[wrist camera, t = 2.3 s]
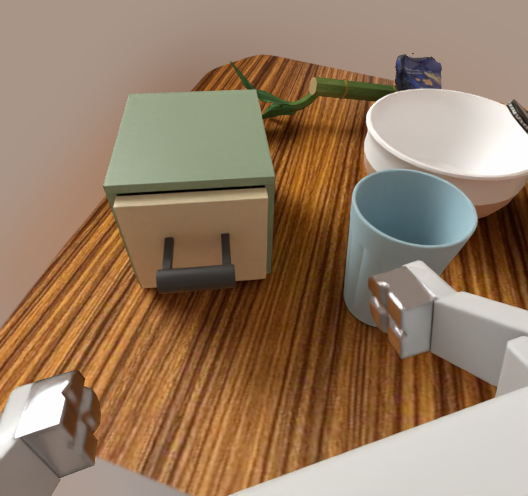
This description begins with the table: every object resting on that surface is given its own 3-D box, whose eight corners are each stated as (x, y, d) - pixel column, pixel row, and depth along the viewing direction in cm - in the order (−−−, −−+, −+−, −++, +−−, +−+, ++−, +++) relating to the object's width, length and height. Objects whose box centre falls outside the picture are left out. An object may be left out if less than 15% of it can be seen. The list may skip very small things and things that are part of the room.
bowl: (376, 139, 49) (392, 76, 43) (513, 176, 44) (551, 110, 38) (329, 212, 39) (342, 143, 33) (499, 270, 34) (548, 201, 28)
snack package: (470, 121, 52) (442, 158, 45) (423, 131, 57) (391, 167, 50) (450, 28, 47) (416, 55, 41) (401, 48, 52) (362, 75, 45)
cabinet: (271, 273, 34) (275, 176, 26) (138, 284, 33) (102, 186, 25) (256, 181, 43) (256, 89, 35) (152, 187, 42) (128, 93, 34)
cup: (324, 264, 34) (344, 167, 27) (409, 264, 35) (453, 168, 27) (336, 340, 29) (364, 246, 22) (436, 340, 29) (499, 247, 22)
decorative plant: (454, 102, 51) (237, 80, 41) (419, 150, 57) (224, 142, 47) (432, 76, 54) (226, 49, 44) (401, 125, 61) (215, 111, 51)
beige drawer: (273, 326, 29) (277, 247, 23) (135, 338, 28) (99, 260, 22) (252, 187, 41) (252, 109, 34) (154, 193, 40) (135, 114, 33)
